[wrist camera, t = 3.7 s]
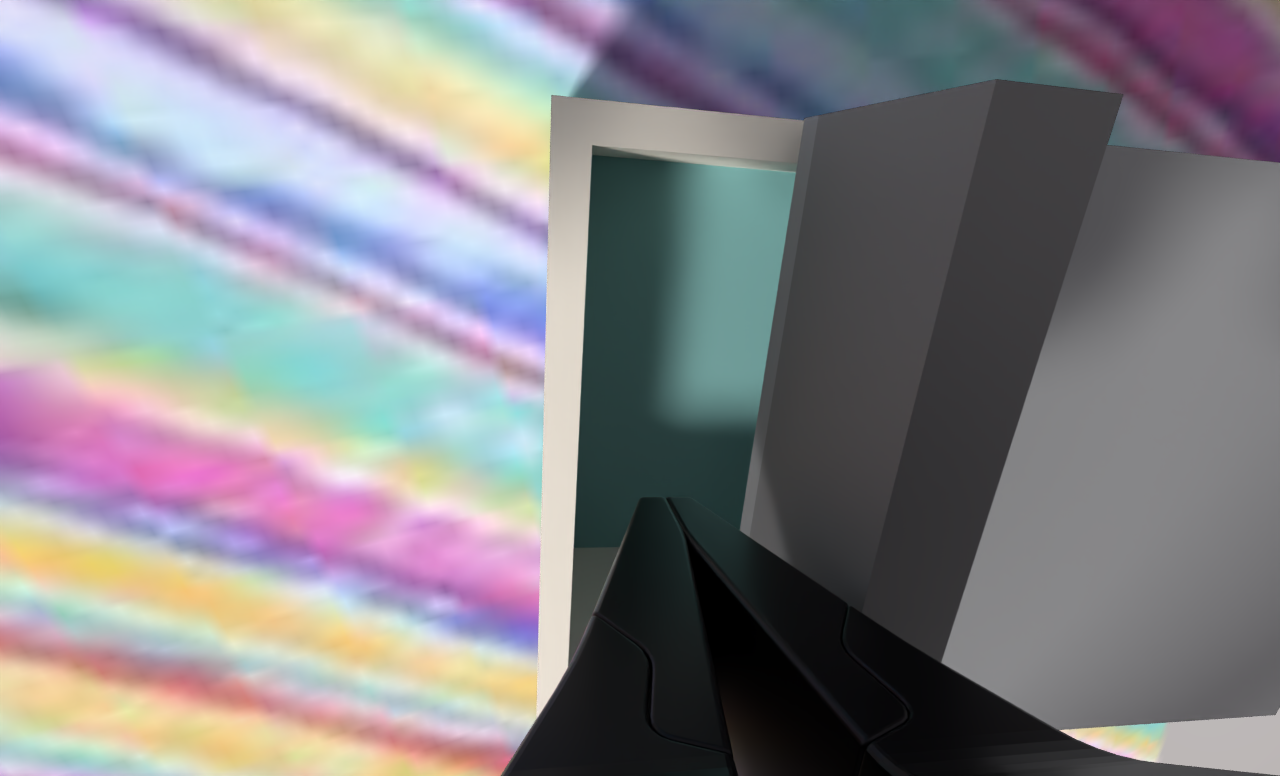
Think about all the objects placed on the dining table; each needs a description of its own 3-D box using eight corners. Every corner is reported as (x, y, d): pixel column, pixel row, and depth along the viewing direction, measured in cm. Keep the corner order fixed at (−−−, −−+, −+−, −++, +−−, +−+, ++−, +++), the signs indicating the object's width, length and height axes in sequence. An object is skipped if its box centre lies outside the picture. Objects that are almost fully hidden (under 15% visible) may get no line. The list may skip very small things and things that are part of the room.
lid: (1252, 697, 15) (1487, 876, 11) (707, 731, 13) (771, 968, 9) (1537, 192, 11) (2063, 205, 7) (804, 118, 9) (995, 79, 5)
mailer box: (959, 548, 20) (1116, 695, 14) (542, 554, 18) (536, 729, 12) (1075, 173, 16) (1355, 176, 10) (553, 124, 14) (551, 94, 8)
